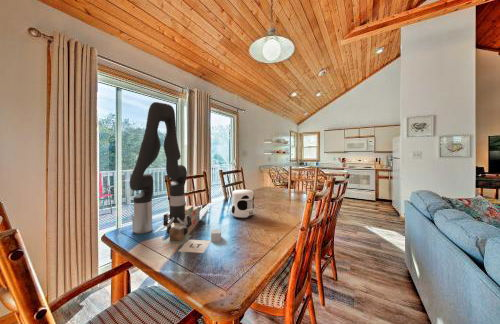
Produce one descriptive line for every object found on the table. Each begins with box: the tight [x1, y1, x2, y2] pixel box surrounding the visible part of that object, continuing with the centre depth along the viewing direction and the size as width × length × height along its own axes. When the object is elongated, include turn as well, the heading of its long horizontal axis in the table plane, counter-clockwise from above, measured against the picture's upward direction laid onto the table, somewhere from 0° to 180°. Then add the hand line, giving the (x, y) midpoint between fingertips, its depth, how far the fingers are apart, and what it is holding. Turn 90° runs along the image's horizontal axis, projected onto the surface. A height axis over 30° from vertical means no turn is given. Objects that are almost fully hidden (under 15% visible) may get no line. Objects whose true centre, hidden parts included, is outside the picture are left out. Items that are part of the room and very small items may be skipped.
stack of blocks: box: [173, 204, 201, 229], centre depth 123 cm, size 21×6×12 cm, turn 170°
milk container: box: [230, 189, 256, 219], centre depth 141 cm, size 17×17×18 cm
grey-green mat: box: [162, 234, 192, 245], centre depth 103 cm, size 11×11×1 cm
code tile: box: [178, 239, 212, 254], centre depth 95 cm, size 12×12×1 cm
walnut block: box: [169, 225, 185, 242], centre depth 102 cm, size 6×6×6 cm
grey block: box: [210, 228, 222, 243], centre depth 103 cm, size 5×5×5 cm
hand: (177, 234), depth 102 cm, fingers open, 8 cm apart
